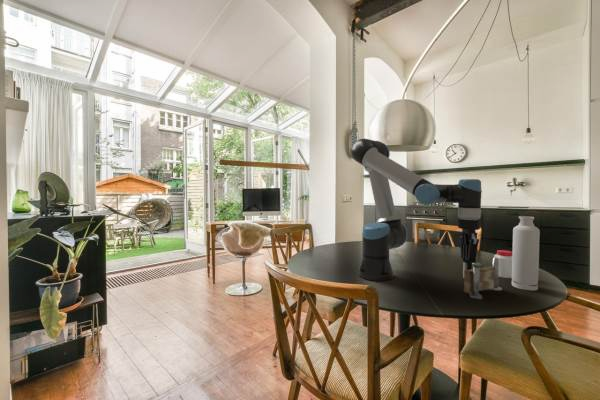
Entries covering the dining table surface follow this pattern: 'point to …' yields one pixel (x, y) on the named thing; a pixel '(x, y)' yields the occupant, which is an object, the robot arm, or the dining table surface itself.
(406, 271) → the dining table surface
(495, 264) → the hinge post
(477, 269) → the latch post
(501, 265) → the pill bottle
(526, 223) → the bottle
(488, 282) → the gate
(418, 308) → the dining table surface
